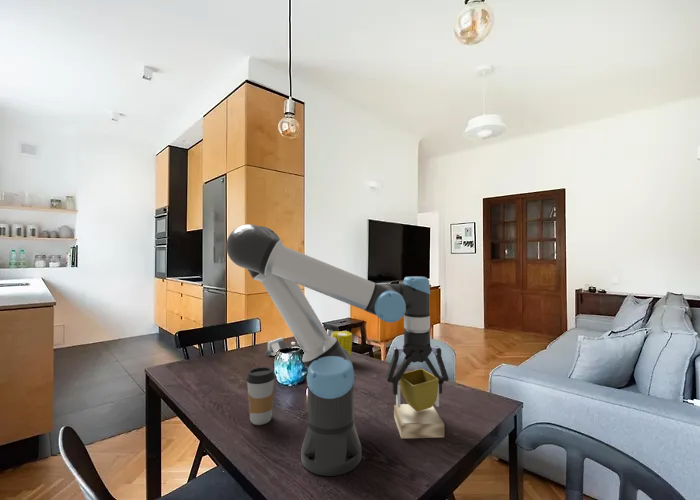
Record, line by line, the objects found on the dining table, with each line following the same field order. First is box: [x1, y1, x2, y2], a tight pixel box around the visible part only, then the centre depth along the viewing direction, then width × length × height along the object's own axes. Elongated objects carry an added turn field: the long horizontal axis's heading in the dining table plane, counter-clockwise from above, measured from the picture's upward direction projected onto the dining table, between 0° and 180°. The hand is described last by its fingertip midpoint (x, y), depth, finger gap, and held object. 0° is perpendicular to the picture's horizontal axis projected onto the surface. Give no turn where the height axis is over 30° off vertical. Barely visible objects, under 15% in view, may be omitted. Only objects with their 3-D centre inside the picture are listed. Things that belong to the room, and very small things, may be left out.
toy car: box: [264, 337, 300, 358], centre depth 165 cm, size 18×10×12 cm
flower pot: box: [399, 368, 439, 411], centre depth 98 cm, size 9×9×9 cm
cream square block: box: [393, 403, 445, 439], centre depth 99 cm, size 12×12×4 cm
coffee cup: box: [246, 366, 275, 426], centre depth 103 cm, size 8×8×15 cm
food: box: [331, 330, 354, 357], centre depth 153 cm, size 15×12×10 cm
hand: (417, 404), depth 98 cm, fingers open, 10 cm apart
